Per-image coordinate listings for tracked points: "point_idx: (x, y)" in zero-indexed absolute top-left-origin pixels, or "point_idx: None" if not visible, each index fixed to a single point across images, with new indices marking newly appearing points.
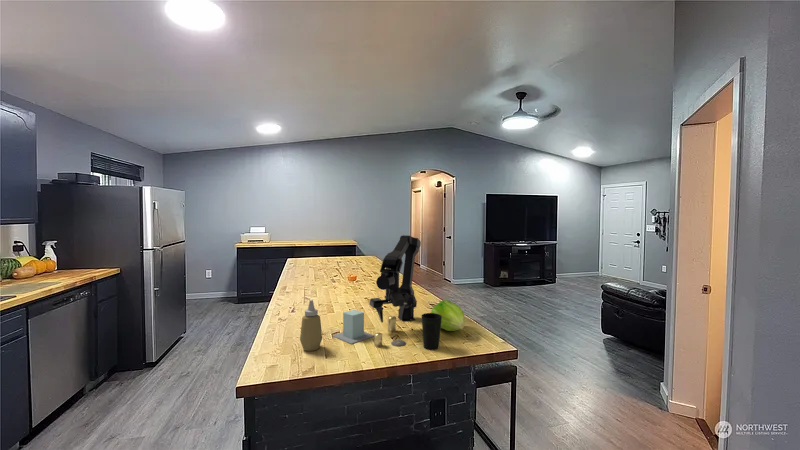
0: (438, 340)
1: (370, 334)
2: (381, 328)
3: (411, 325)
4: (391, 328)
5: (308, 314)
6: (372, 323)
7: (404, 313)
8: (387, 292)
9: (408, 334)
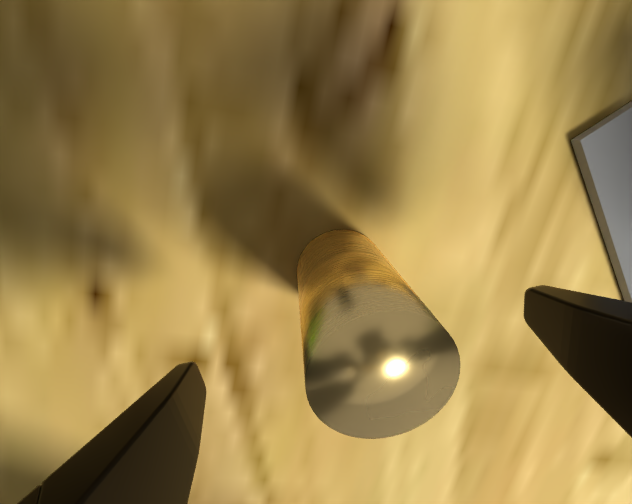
0: None
1: (603, 180)
2: None
3: (101, 397)
4: (364, 245)
5: None
6: (456, 465)
7: (76, 463)
8: None
9: (159, 125)
